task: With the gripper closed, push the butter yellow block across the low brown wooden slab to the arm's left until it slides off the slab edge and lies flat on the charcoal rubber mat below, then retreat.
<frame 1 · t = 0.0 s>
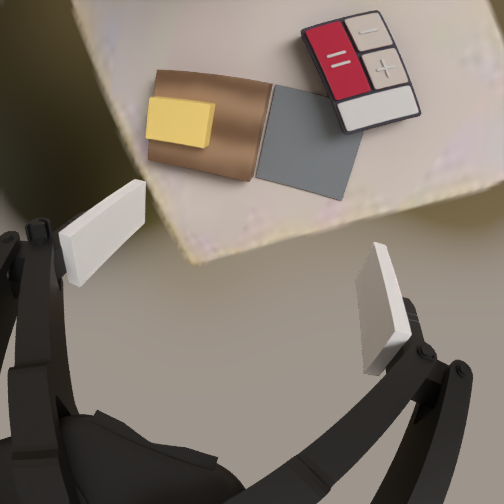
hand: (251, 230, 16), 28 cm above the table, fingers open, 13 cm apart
calculator: (360, 71, 32), on the table, touching mat
brown wooden slab: (209, 120, 40), on the table
butter yellow block: (181, 119, 38), point 3 cm above the table, touching brown wooden slab
mat: (311, 143, 39), on the table
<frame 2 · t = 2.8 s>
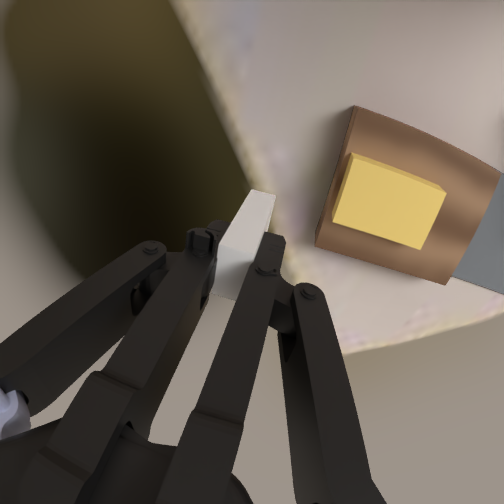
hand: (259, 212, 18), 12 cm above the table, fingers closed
brown wooden slab: (406, 196, 27), on the table
butter yellow block: (387, 198, 25), point 3 cm above the table, touching brown wooden slab
mat: (503, 238, 26), on the table
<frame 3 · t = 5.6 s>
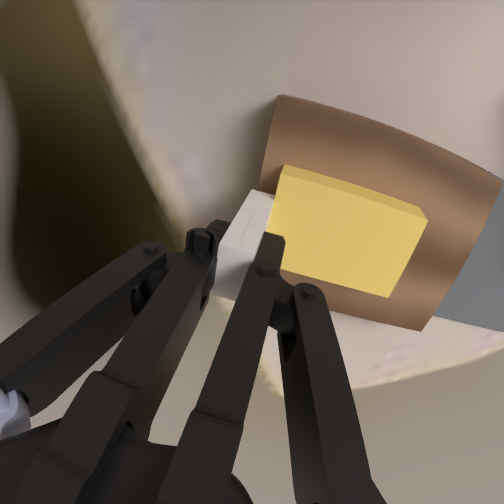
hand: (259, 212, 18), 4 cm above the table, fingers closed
brown wooden slab: (366, 217, 21), on the table
butter yellow block: (340, 227, 19), point 3 cm above the table, touching brown wooden slab
mat: (502, 266, 20), on the table
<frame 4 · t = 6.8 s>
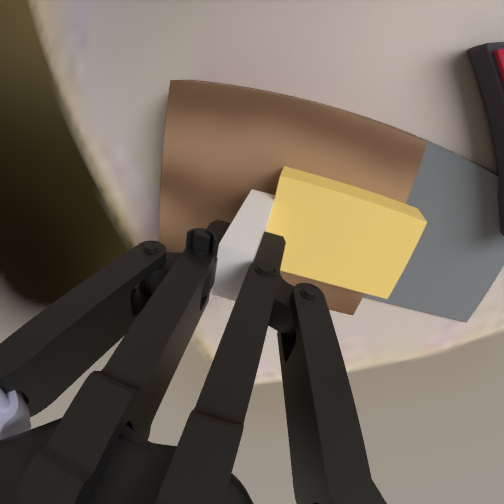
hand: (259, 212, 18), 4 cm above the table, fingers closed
brown wooden slab: (280, 191, 22), on the table
butter yellow block: (340, 228, 19), point 3 cm above the table, touching brown wooden slab
mat: (453, 246, 20), on the table
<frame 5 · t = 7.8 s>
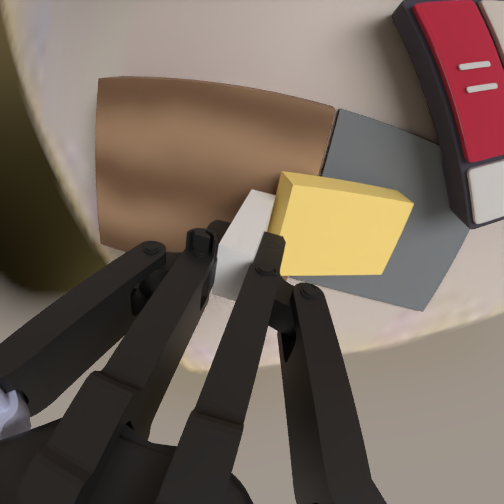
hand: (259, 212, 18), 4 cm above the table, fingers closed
calculator: (486, 100, 14), on the table, touching mat
brown wooden slab: (203, 173, 22), on the table
butter yellow block: (333, 221, 20), point 2 cm above the table, tilted 24°, touching gripper, mat
mat: (394, 225, 21), on the table
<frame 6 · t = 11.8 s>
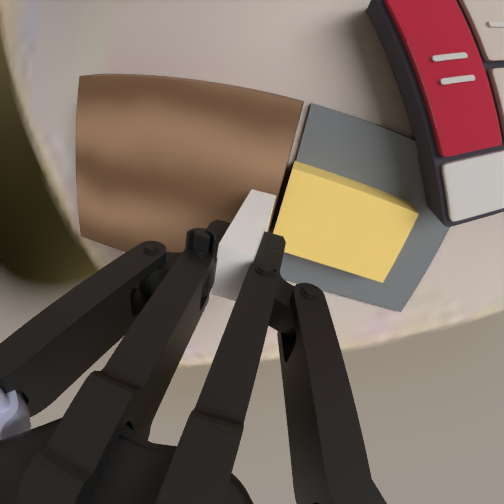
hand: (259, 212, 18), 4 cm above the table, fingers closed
calculator: (467, 95, 14), on the table, touching mat
brown wooden slab: (177, 168, 22), on the table
butter yellow block: (341, 218, 21), resting on mat
mat: (368, 222, 21), on the table
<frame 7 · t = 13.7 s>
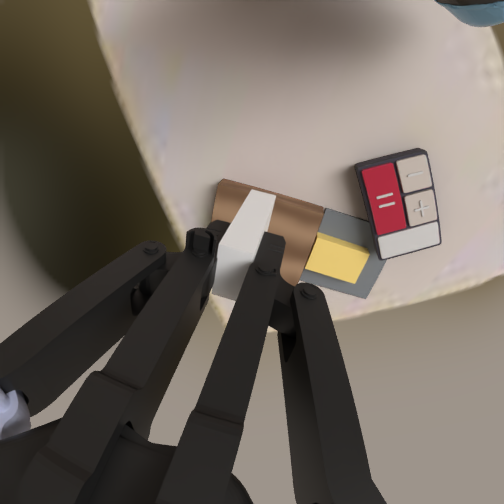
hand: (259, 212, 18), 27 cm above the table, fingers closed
calculator: (397, 200, 42), on the table, touching mat
brown wooden slab: (262, 231, 49), on the table
butter yellow block: (336, 255, 48), resting on mat
mat: (348, 256, 48), on the table
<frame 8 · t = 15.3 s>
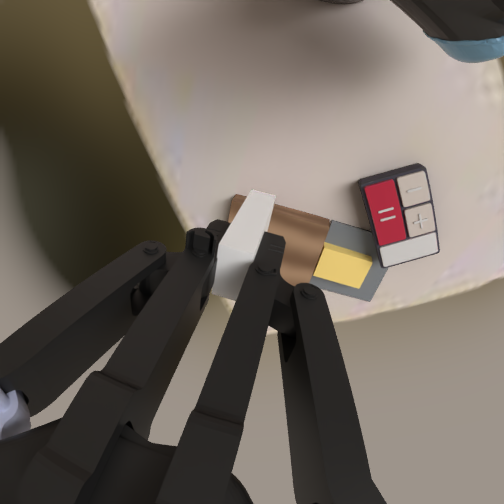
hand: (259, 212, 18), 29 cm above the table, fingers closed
calculator: (399, 212, 45), on the table, touching mat
brown wooden slab: (273, 241, 53), on the table
butter yellow block: (342, 262, 52), resting on mat
mat: (353, 263, 52), on the table
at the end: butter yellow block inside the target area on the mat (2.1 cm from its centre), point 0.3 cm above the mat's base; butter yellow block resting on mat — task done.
